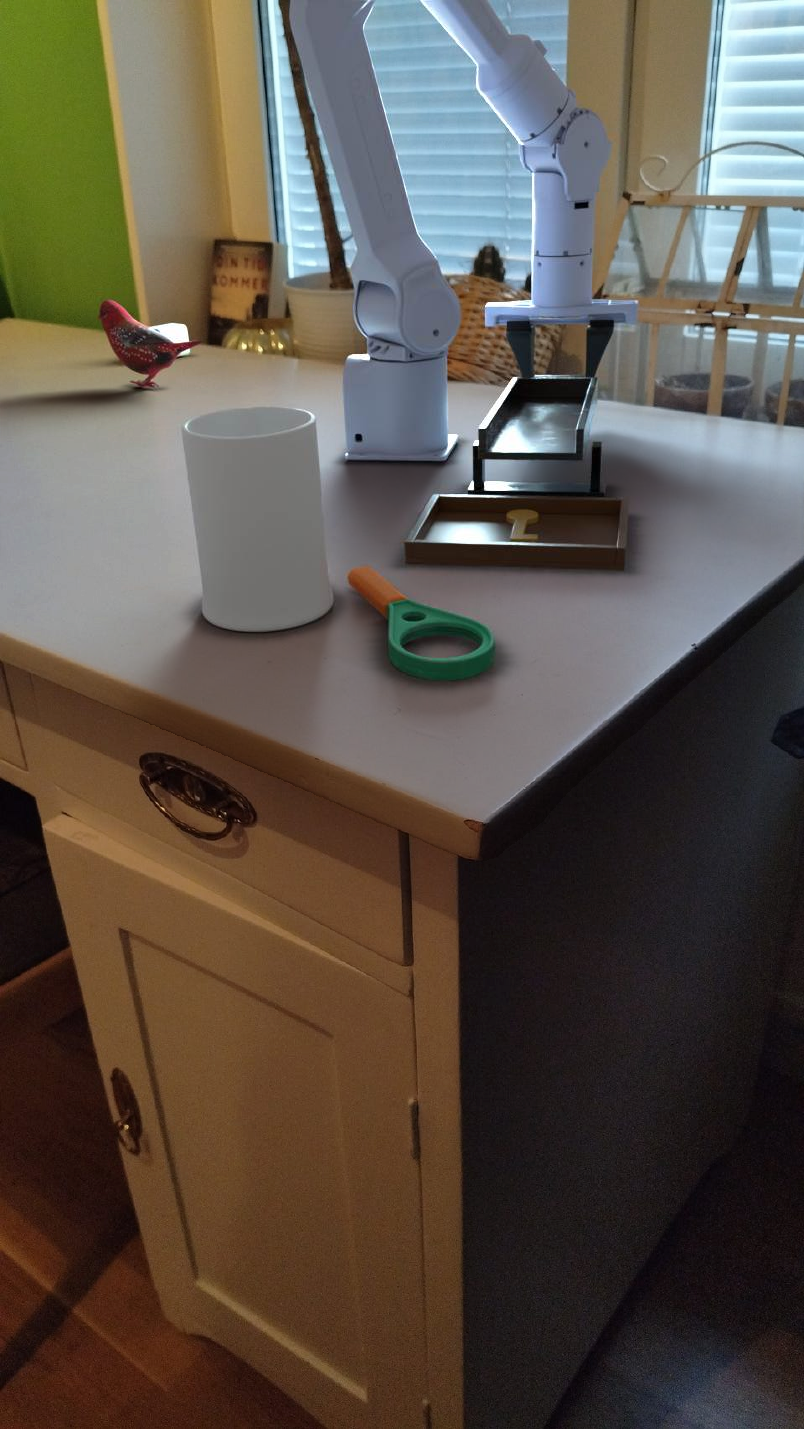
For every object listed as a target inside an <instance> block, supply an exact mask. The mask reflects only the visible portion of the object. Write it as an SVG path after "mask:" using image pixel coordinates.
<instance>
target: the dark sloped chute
mask: <svg viewBox="0 0 804 1429" xmlns="http://www.w3.org/2000/svg"><path fill="white" fill-rule="evenodd" d="M598 390H599V377H598V376H595V377H585V374H554V375H553V374H534V377H522V376H513V377H512V379H511V380H510V382H509V383H508V385H507V386H506V387H505V389H504V391H503V392H502V393H501V395H500V396H499V398H498V399H497V400H496V402H495V404H494V405H493V407H492V408H491V409H490V411H489V412H488V414H487V415H486V417H485V418H484V420H483V421H482V422H481V424H480V425H479V427H478V429H477V441H478V451H479V452H478V459H485V461H486V460H490V461H492V460H493V461H494V460H496V461H561V462H563V461H564V462H565V461H566V462H567V461H568V462H583V461H584V459H585V458H584V457H585V455H586V450H587V446H588V441H589V437H590V433H591V430H592V426H593V425H592V424H593V422H594V418H595V413H596V410H597V405H598V395H599V394H598V393H599V391H598Z"/></svg>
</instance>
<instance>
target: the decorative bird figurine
mask: <svg viewBox="0 0 804 1429" xmlns="http://www.w3.org/2000/svg"><path fill="white" fill-rule="evenodd" d="M97 319H98V320H100V322H101V325H102V328H103V331H104V332H105V335H106V337H107V341H108V343H109V345H110V348H111V349H112V351H113V354H114V355H115V356H116V357H117V358H118V361H120V362H121V363H122V364H123V365H124V366H125V367H127V368H128V369H129V370H131V371H132V372H135V373H137V374H139V375H145V376H146V375H147V377H146V378H144V380H141V379H139V380H137V381H135V380H130V381H129V383H132V384H135V385H137V386H138V387H141V388H144V387H149V388H155V386H156V387H158V388H159V387H160V386H159V385H158V384H157V382H155V381H152V380H153V379H154V378H156V377H157V374H159V373H160V372H161V371H162V370H164V369H167V368H169V367H171V366H172V365H173V364H174V362H175V361H176V359H177V358H178V357H179V356H178V355H179V354H180V353H181V352H183V351H185V350H188V349H190V350H191V349H192V348H194V347H197V346H198V345H200V344H202V343H203V341H202V340H200V339H196V340H189V341H187V342H180V343H173V342H172V341H171V340H170V339H168V338H167V337H165V336H164V335H162V334H161V333H159V332H158V331H156V330H154V329H152V328H150V327H151V326H148V325H145V324H143V323H141V322H140V321H138V320H136V319H135V318H134V317H132V315H131V314H129V312H128V311H127V310H126V309H125V307H123V306H122V305H120V304H119V303H118V302H116V301H114V300H111V299H105V300H104V301H102V302H101V305H100V307H99V314H98V315H97ZM177 356H178V357H177Z"/></svg>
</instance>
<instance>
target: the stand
mask: <svg viewBox="0 0 804 1429" xmlns="http://www.w3.org/2000/svg"><path fill="white" fill-rule="evenodd" d="M478 452H479V451H478V440H474V442H473V445H472V481H471V483H470V484H469V486H468V488H467V495H496V496H545V497H594V498H605V495H606V487H607V484H606V483H602V466H603V464H602V463H603V442H602V441H592V444H591V456H590V477H589V478H590V479H589V483H578V482H577V483H572V482H569V483H568V482H521V481H519V482H518V481H516V482H515V481H486V459H478Z"/></svg>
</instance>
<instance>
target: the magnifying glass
mask: <svg viewBox="0 0 804 1429" xmlns="http://www.w3.org/2000/svg"><path fill="white" fill-rule="evenodd" d="M347 582H348V584H349V586H350V587H352V588H353V589H354V590H355V591H356V592H357V593H358V594H359V595H360V596H361V597H362V598H364V599H365V600H366V602H368V603H369V604H370V605H371V606H372V607H373V608H375V609H376V611H378V612H379V613H380V614H381V616H383V617H384V618H385V619H386V620H387V621H388V636H387V639H388V640H387V645H388V658H389V660H390V662H391V663H392V665H393V666H394V667H396V668H397V669H398V670H400V671H401V672H403V673H405V674H407V675H410V676H413V677H415V678H419V679H425V680H429V681H431V680H432V681H442V682H444V681H446V682H447V681H448V682H449V681H458V680H464V679H468V678H471V677H475V676H477V675H479V674H481V673H484V672H485V671H487V670H488V669H489V668H490V667H491V666H492V665H493V663H494V660H495V650H496V639H495V635H494V633H493V631H492V630H491V629H490V628H489V627H488V626H487V625H486V624H484V623H483V622H481V621H479V620H476V619H474V618H471V617H468V616H465V615H463V614H458V613H455V612H451V611H449V610H446V609H445V610H444V609H441V608H439V607H434V606H431V605H429V604H425V603H421V602H418V601H415V600H412V599H411V598H407V596H405V595H404V594H403V593H402V592H400V591H399V590H398V589H397V588H396V587H395V586H394V585H393V584H391V583H390V582H389V581H388V580H386V579H385V578H384V577H383V576H382V575H380V574H379V573H378V572H377V571H376V570H374V569H373V568H372V566H369V565H363V566H359V567H358V566H357V567H354V568H352V569H351V570H350V571H349V573H348V574H347ZM434 635H435V636H436V635H451V636H458V637H462V638H466V639H469V640H472V641H474V642H475V643H477V644H478V645H479V647H478V648H477V649H476V650H474V651H472V652H469V653H467V654H463V655H459V656H454V657H426V656H421V655H417V654H415V653H412V652H410V651H407V650H406V649H404V648H403V647H404V645H406V644H407V643H409V642H411V641H412V640H415V639H418V638H421V637H426V636H427V637H428V636H434Z"/></svg>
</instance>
